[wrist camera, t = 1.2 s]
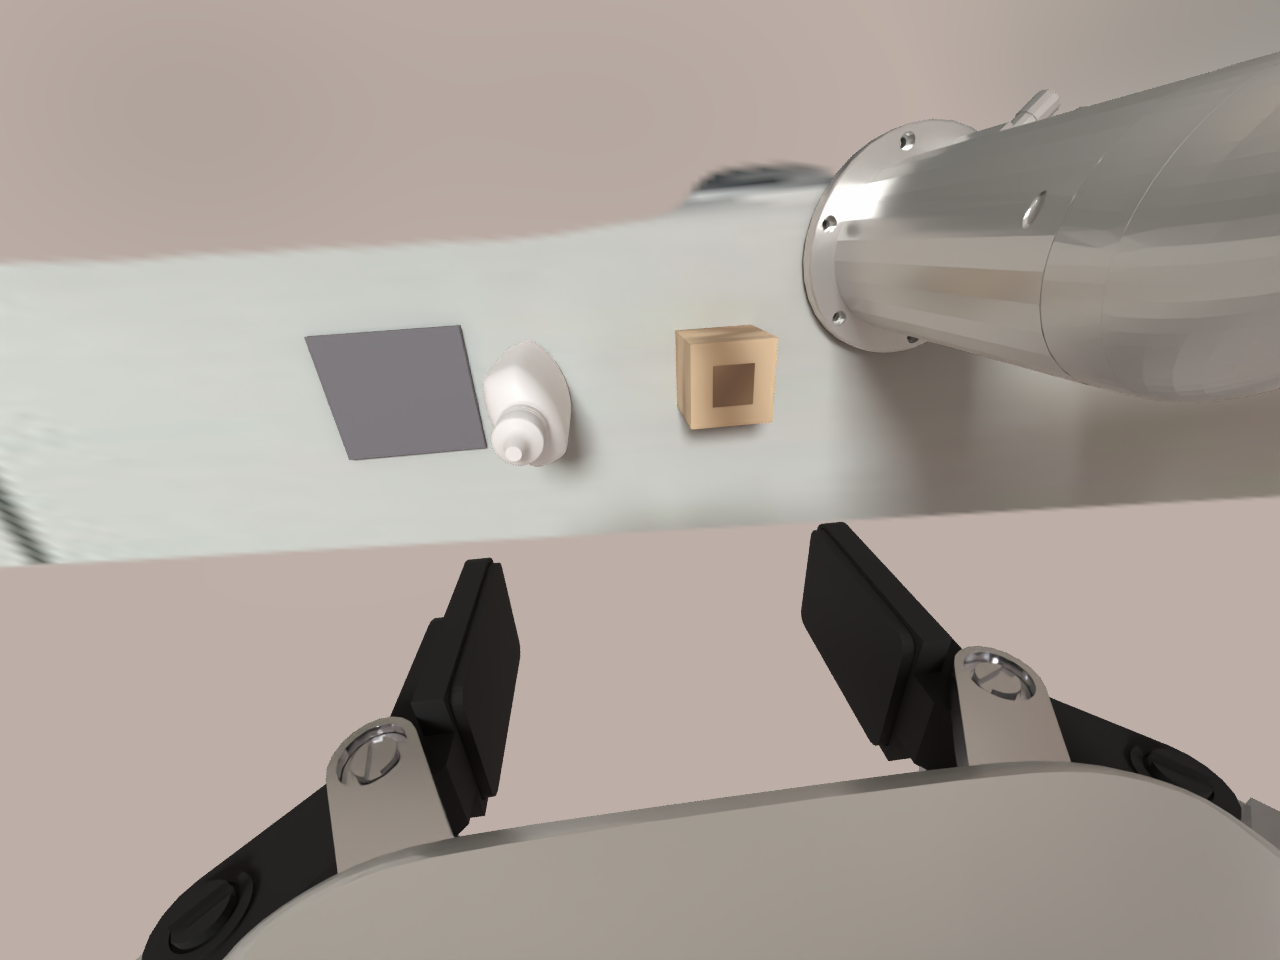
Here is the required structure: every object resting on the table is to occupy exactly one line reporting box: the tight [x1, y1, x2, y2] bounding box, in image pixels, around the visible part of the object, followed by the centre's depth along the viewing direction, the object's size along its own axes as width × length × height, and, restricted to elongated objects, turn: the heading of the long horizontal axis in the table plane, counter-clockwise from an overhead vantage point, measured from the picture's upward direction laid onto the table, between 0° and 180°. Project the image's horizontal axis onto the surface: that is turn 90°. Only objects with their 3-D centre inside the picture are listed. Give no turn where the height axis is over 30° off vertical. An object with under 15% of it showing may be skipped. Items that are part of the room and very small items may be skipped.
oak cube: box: [675, 325, 778, 430], centre depth 29 cm, size 5×5×5 cm
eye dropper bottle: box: [483, 340, 571, 467], centre depth 26 cm, size 4×6×12 cm
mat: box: [304, 325, 487, 460], centre depth 30 cm, size 9×8×1 cm
